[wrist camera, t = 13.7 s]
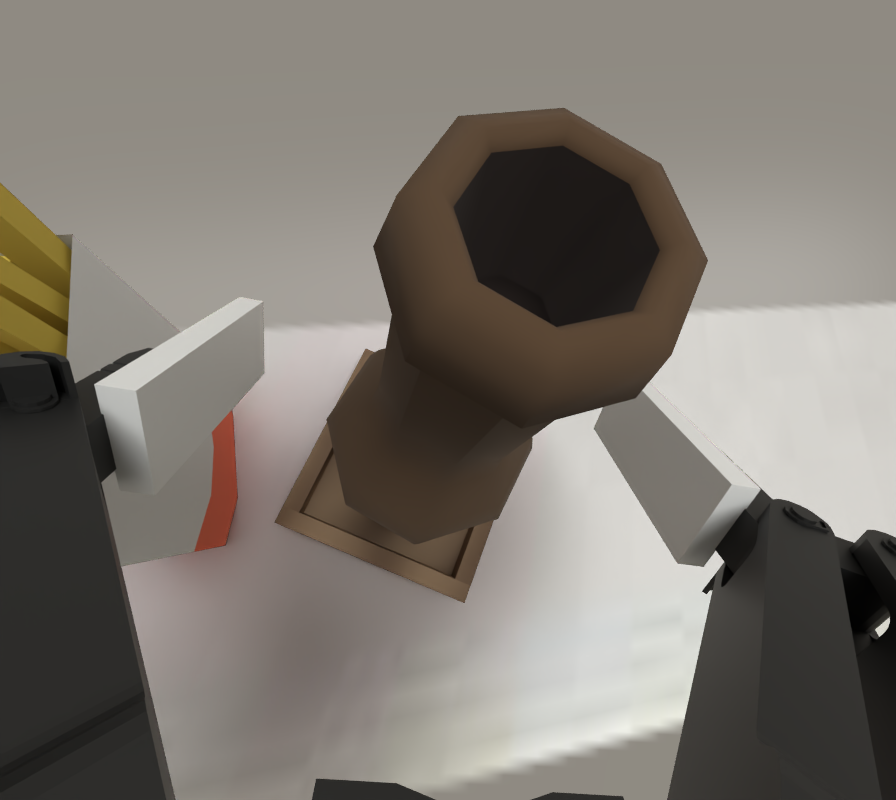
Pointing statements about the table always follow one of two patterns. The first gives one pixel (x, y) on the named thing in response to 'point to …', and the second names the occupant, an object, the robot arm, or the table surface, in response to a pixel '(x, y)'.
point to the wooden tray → (376, 527)
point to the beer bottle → (508, 312)
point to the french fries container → (95, 346)
